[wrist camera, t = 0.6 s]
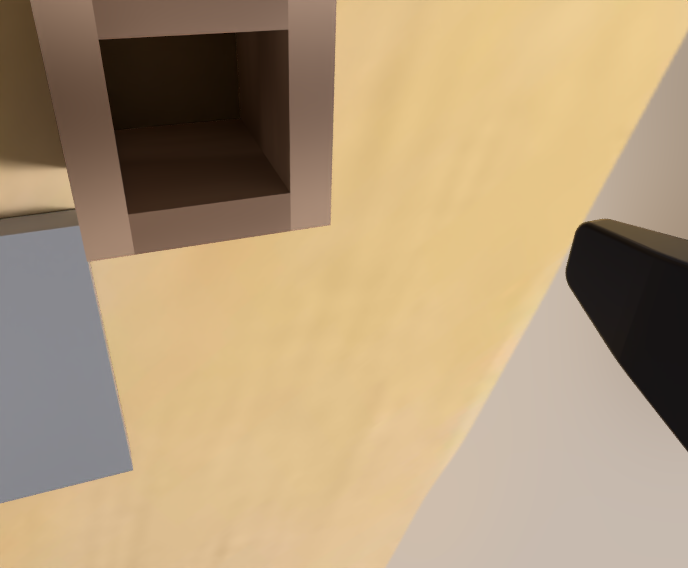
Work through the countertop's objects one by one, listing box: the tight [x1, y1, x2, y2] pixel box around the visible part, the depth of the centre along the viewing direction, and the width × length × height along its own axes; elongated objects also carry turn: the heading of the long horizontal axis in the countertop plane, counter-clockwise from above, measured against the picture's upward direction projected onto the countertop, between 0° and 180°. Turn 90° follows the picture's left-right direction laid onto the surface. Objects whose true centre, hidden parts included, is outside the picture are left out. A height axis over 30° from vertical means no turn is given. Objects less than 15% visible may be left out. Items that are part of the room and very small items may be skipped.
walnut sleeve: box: [30, 0, 336, 262], centre depth 15 cm, size 6×6×5 cm
